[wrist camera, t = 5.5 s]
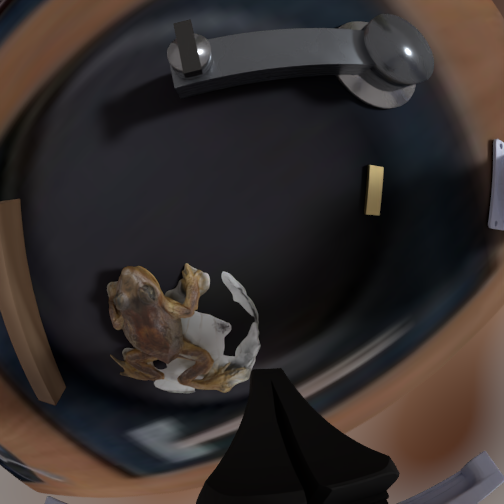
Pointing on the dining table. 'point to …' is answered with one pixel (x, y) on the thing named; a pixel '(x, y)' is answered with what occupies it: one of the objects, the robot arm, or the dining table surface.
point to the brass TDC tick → (373, 190)
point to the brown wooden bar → (24, 309)
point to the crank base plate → (368, 92)
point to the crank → (301, 56)
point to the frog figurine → (179, 332)
